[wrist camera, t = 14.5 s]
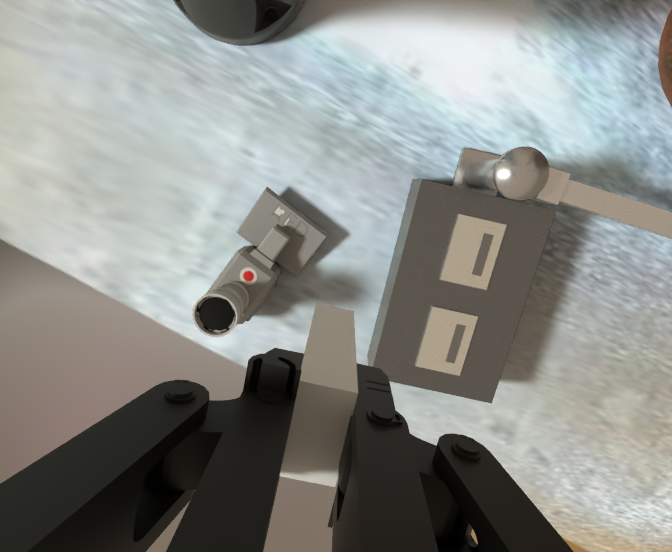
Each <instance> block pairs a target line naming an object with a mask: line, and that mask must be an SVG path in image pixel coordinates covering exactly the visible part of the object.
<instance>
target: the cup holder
mask: <svg viewBox="0 0 672 552" xmlns="http://www.w3.org/2000/svg"><path fill="white" fill-rule="evenodd" d="M658 68H659V73H660V79H661V84H662V89H663V91H664V93H665V95H666V97H667V99H668V101H669V103H670V105H671V107H672V10H671V12H670V14H669V15H668V17H667V20H666V24H665V27H664V30H663V33H662V36H661V40H660V47H659V61H658Z"/></svg>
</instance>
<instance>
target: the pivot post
mask: <svg viewBox="0 0 672 552" xmlns="http://www.w3.org/2000/svg"><path fill="white" fill-rule="evenodd" d="M548 177H549V165H548V162H547V159H546V158H545V156H544V155H543V154H542V153H541V152H540V151H538V150H537V149H535V148H532V147H518V148H514V149H511V150H509V151H507V152H506V153H504V154H503V155H502V156H498V155H493V154H489V153H485V152H481V151H476V150H472V149H468V148H462V150H461V154H460V157H459V161H458V164H457V168H456V172H455V175H454V179H453V183H452V186H453V187H457V188H462V189H466V190H471V191H475V192H479V193H484V194H488V195H492V196H496V195H497V192H499V193H500V194H501V195H503V196H504V197H506V198H508V199H512V200H527V199H530V198H532V197H534V196H536V195H537V194H538V193H540V192H541V191H542V189H543V188H544V187H545V185H546V183H547V181H548Z"/></svg>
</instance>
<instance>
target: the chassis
mask: <svg viewBox="0 0 672 552" xmlns="http://www.w3.org/2000/svg"><path fill="white" fill-rule="evenodd" d="M555 212H556V210H553V209H549V208H544V207H540V206H536V205H531V204H527V203H523V202H518V201H514V200H510V199H505V198H501V197H497V196H492V195H488V194H484V193H479V192H475V191H471V190H466V189H462V188H457V187H453V186H449V185H444V184H440V183H436V182H431V181H427V180H423V179H413V180H412V184H411V188H410V192H409V196H408V199H407V203H406V207H405V211H404V215H403V219H402V223H401V227H400V231H399V235H398V238H397V242H396V246H395V250H394V254H393V258H392V262H391V266H390V270H389V274H388V277H387V281H386V285H385V289H384V293H383V297H382V301H381V305H380V309H379V312H378V316H377V320H376V324H375V328H374V332H373V336H372V340H371V344H370V348H369V351H368V355H367V356H368V364H369V366H371V367H376V368H381V369H382V371H383V372H384V373H385V374H386V375H387V376H388V378H389V381H391V382H396V383H401V384H405V385H410V386H414V387H419V388H424V389H428V390H433V391H437V392H442V393H447V394H451V395H456V396H460V397H465V398H470V399H474V400H479V401H483V402H488V403H492V401H493V398H494V395H495V392H496V389H497V386H498V383H499V380H500V377H501V374H502V371H503V368H504V365H505V362H506V359H507V356H508V353H509V350H510V347H511V344H512V341H513V338H514V335H515V332H516V329H517V326H518V323H519V320H520V317H521V314H522V311H523V308H524V305H525V302H526V299H527V296H528V293H529V290H530V287H531V284H532V281H533V278H534V275H535V272H536V269H537V266H538V263H539V260H540V257H541V254H542V251H543V248H544V245H545V242H546V239H547V236H548V233H549V230H550V227H551V224H552V221H553V218H554V215H555Z"/></svg>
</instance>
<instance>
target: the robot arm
mask: <svg viewBox="0 0 672 552" xmlns="http://www.w3.org/2000/svg"><path fill="white" fill-rule="evenodd" d="M173 1H174V2H175V4H176V5H177V7H178V8H179V9H180V11H181V12H182V13H183V14H184V15H185V16H186V17H187V18H188V19H189V20H190V21H191V22H192V23H193V24H194V25H195V26H196V27H197V28H198V29H199V30H201V31H202V32H203V33H205V34H206V35H208V36H210V37H212V38H214V39H216V40H218V41H221V42H224V43H228V44H233V45H251V44H256V43H260V42H263V41H266V40H268V39H270V38H272V37H274V36H276V35H277V34H279V33H280V32H282V31H283V30H284V29H285V28H286V27H287V26H288V25H289V24H290V23H291V22H292V21H293V20H294V19H295V17H296V16H297V15H298V13H299V11H300V10H301V8H302V6H303V4H304V2H305V0H173ZM338 473H339V479H338V487H337V491H336V495H335V499H334V503H333V507H332V511H331V515H330V519H329V523H328V527H331V528H332V526H333V536H332V552H573V551H572V549H571V548H570V547H569V546H568V544H567V543H566V542H565V541H564V540H563V538H562V537H561V536H560V535H559V534H558V533H557V531H556V530H555V529H554V528H553V527H552V525H551V524H550V523H549V522H548V521H547V519H546V518H545V517H544V516H543V515H542V513H541V512H540V511H539V510H538V509H537V507H536V506H535V505H534V504H533V503H532V501H531V500H530V499H529V498H528V497H527V495H526V494H525V493H524V492H523V491H522V490H521V488H520V487H519V486H518V485H517V484H516V482H515V481H514V480H513V479H512V478H511V476H510V475H509V474H508V473H507V472H506V470H505V469H504V468H503V467H502V466H501V464H500V463H499V462H498V461H497V460H496V458H495V457H494V456H493V455H492V454H491V452H490V451H488V450H487V449H486V448H485V447H484V446H483V445H482V444H480V443H478V442H477V441H475V440H474V439H472V438H470V437H467V436H464V435H458V434H444V435H443V436H441V437H439V440H438V444H437V446H435V445H433V444H430V443H428V442H425V441H423V440H421V439H419V438H417V437H415V436H413V435H411V434H410V433H409V429H408V425H407V422H406V420H405V418H404V417H403V416H402V415H401V414H399V413H398V412H397V411H395V406H394V402H393V397H392V394H391V387H390V383H389V378H388V376H387V375H386V374H385V373H384V372H383V371H382V369H381V368H376V367H371V366H366V365H361V364H357V363H356V346H355V328H354V311H349V310H345V309H340V308H335V307H330V306H326V305H321V304H316V307H315V311H314V316H313V320H312V324H311V328H310V332H309V337H308V341H307V345H306V349H305V353H304V354H302V353H298V352H293V351H288V350H283V349H278V348H274V349H272V350H270V351H269V352H267V353H266V354H259V355H255V356H253V357H251V358H250V359H249V361H248V366H247V372H246V378H245V383H244V389H243V392H242V394H241V396H240V397H239V398H236V399H232V400H224V401H209V392H208V391H207V390H206V388H205V387H204V386H202V385H200V384H197V383H195V382H190V381H188V380H174V381H168V382H163V383H161V384H159V385H156V386H155V387H153V388H151V389H150V390H148V391H147V392H145V393H144V394H142V395H140V396H139V397H137V398H136V399H134V400H132V401H131V402H130V403H128V404H126V405H124V406H123V407H122V408H120V409H118V410H117V411H115V412H114V413H112V414H111V415H109V416H107V417H105V418H104V419H102V420H101V421H99V422H98V423H96V424H94V425H93V426H91V427H90V428H88V429H86V430H85V431H84V432H82V433H80V434H79V435H77V436H75V437H74V438H72V439H71V440H69V441H68V442H66V443H64V444H63V445H61V446H59V447H58V448H56V449H55V450H53V451H52V452H50V453H49V454H47V455H45V456H44V457H42V458H40V459H39V460H37V461H36V462H34V463H33V464H31V465H29V466H28V467H26V468H25V469H23V470H21V471H20V472H18V473H17V474H15V475H14V476H12V477H11V478H9V479H7V480H6V481H4V482H2V483H1V484H0V552H146V551H147V550H148V548H149V547H150V546H151V545H152V544H153V543H154V541H155V540H156V539H157V538H158V537H159V536H160V535H161V533H162V532H163V531H164V529H166V528H167V526H168V525H169V524H170V523H171V522H172V520H174V518H175V517H176V516H177V515H178V514H179V512H180V511H181V510H182V509H183V508H184V507H185V506H186V504H187V503H188V502H189V501H190V500H191V501H190V503H189V505H188V507H187V509H186V511H185V513H184V515H183V517H182V519H181V522H180V524H179V526H178V528H177V530H176V532H175V534H174V536H173V538H172V540H171V543H170V544H169V547H168V549H167V551H166V552H263V550H264V545H265V541H266V537H267V532H268V527H269V523H270V517H271V513H272V509H273V505H274V500H275V495H276V491H277V486H278V481H279V477H280V476H283V477H287V478H292V479H297V480H302V481H307V482H312V483H317V484H322V485H327V486H332V487H335V485H336V481H337V477H338ZM472 529H473V530H474V532H475V534H476V537H477V541H478V545H477V544H476V542H475V541H474V539H473V538H472V536H471V531H472Z"/></svg>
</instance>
